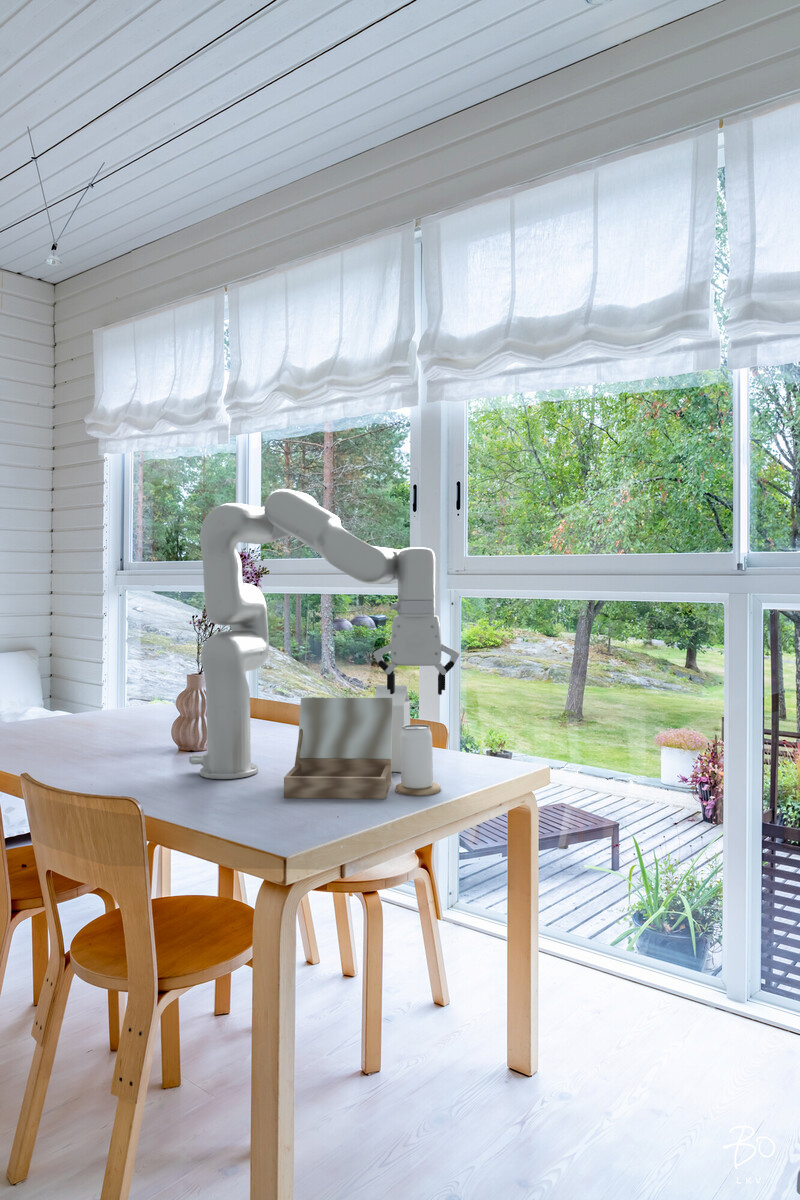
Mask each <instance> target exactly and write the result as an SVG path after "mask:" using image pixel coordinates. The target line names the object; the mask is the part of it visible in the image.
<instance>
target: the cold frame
mask: <svg viewBox="0 0 800 1200" xmlns="http://www.w3.org/2000/svg"><path fill="white" fill-rule="evenodd" d="M392 706H393V698H374V697H300V707H299V723H298V738H297V739H298V740H297V744H296V745H297V747H296V755H295V762H294V766H293V767H292V768H291V769H290V770H289V771H288V772H287V773H286V775H284V776H283V798H286V799H289V798H291V799H293V798H294V799H299V798H300V799H359V800H360V799H363V800H364V799H369V800H373V799H376V800H377V799H379V800H384V799H385V800H386V798H387V796H388V793H389V790H390V787H391V785H392V772H391V752H392Z"/></svg>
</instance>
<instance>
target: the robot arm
mask: <svg viewBox="0 0 800 1200" xmlns="http://www.w3.org/2000/svg"><path fill="white" fill-rule="evenodd" d="M341 522H342V521H341V519H340V517H338V515H336V514H334V513H332V512H330V511H329V510H327V509H325V508H323V507H322V506H320V505H319V503H318V502H317V500H316V499H315V498H314V497H313V496H311V495H309V494H307V493H305V492H302V491H296V490H292V489H288V488H281V489H276V490H275V491H272V492H271V493H270V494H269V495H268V496H267V497H266V499H265V502H264V505H263V506H256V505H250V504H245V503H238V502H228V503H224V504H223V503H222V504H219V505H218V506H216V507H214V508H213V509H212V510H211V511H210V512H208V514H207V515H206V516H205V518H204V520H203V522H202V524H201V527H200V532H199V533H200V534H199V543H200V549H201V550H200V552H201V557H202V558H201V559H202V567H203V568H202V569H203V571H202V572H203V591H204V607H205V608H204V609H205V614H206V616H207V618H208V620H209V621H210V622H211V623H213V624H215V625H218V626H231V630H230V631H229V630H228V631H221V632H217V633H215V634H213V635H211V636H210V637H208V638H207V639H206V640H205V642H204V644H203V645H202V647H201V653H200V654H201V655H200V660H201V665H202V670H203V676H204V683H205V703H206V706H205V707H206V753H203V754H190V755H189V758H188V761H189V764H191V765H192V766H193V765H195V766H196V765H201V766H202V767H201V768H200V770H199V774H200V776H201V777H203V778H205V779H212V780H233V779H235V780H236V779H240V778H247V777H250V776H253V775H255V774H257V773H258V771H259V770H258V769H259V767H258V765H257V764H254V763H253V762H252V761H251V760H252V759H251V757H252V756H251V755H252V754H251V753H252V752H251V748H252V746H251V698H250V695H251V692H250V687H249V683H248V679H247V676H246V674H245V672H249V671H254V670H256V669H259V668H260V667H262V666H263V665H264V663H266V661H267V658H268V656H269V649H270V640H269V639H270V637H269V622H268V609H267V608H268V607H267V606H268V605H267V601H266V599H265V596H264V594H263V592H262V591H261V590H260V589H259V588H258V587H257V586H256V585H255V584H251V583H248V582H244V577H243V564H242V559H241V556H240V553H239V551H238V550H237V544H238V543H244V544H254V545H263V544H268V543H272V542H275V541H278V540H282V539H286V538H289V537H293V538H295V539H296V540H298V541H300V542H301V543H303V544H304V545H306V546H307V547H309V548H311V549H313V550H315V551H316V552H317V554H319V556H321V557H322V558H323V559H324V560H325V561H326V562H327V563H329V564H330V565H331V566H333V567H334V568H336V569H338V570H339V571H341V572H343V573H345V574H346V575H347V576H349V577H352V578H353V579H354V580H357V581H359V582H361V583H364V584H367V585H370V584H371V585H374V584H375V585H391V584H397V601H396V602H394V603H393V602H392V603H390V610H391V611H396V612H397V615H394V616H393V619H392V625H391V633H390V635H391V636H390V643H389V644H387V645H385V646H384V647H381V648H379V649H377V650H375V651H374V652H373V656H374V659H375V661H376V662H377V664H378V667H380V669H382V671H384V672H385V674H386V685H387V690H390V694H394V693H395V685H396V673H394V672H395V669H396V667H398V666H403V667H404V666H405V667H406V666H407V667H410V666H411V667H415V666H416V667H433V666H434V667H435V668H436V669H437V671H438V674H437V695H438V696H442V695H443V691H446V675H447V673H448V672H449V671H450V670H451V669H453V668H454V666H455V664H456V662H457V660H458V658H459V657H460V653H459V652H458V651H457V650H455V649H453V648H451V647H449V646H447V645H445V644H444V643H442V633H441V623H440V619H439V615H436V614H435V613H436V599H435V598H436V555H435V551H433V550H432V549H431V548H430V547H429V548H427V547H404V548H402V549H396V548H391V547H390V548H389V547H381V546H375V545H371V544H369V542H368V543H367V542H366V541H364V540H362V539H360V538H359V537H357V536H355V535H353V534H352V533H350V532H349V531H347V530H346V528H344V527H343V526H342V523H341ZM389 652H390V661H391V663H390V664H388V663H387V662H386V661H385V660H384V658H383V655H385V654H386V653H389ZM442 652H443V653H445V654H447V655H449V656H450V659H449V661H448V662H447V663H446V664H443V663H442V662H441V661H442Z"/></svg>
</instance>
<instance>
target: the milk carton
mask: <svg viewBox="0 0 800 1200" xmlns="http://www.w3.org/2000/svg"><path fill="white" fill-rule="evenodd" d="M373 698H393V706H392V752H391V773H393V772H395V773H401V751H400V734H401V732H402V729H403V728H402V727H403V726H406V725H411V700H410V696H409V692H408V685H406V684H405V685H403V684H401V685H400V684H398V685H397V684H395V693H394V694H390V690H387V684H376V686H375V693H374V697H373Z"/></svg>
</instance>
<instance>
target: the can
mask: <svg viewBox="0 0 800 1200" xmlns="http://www.w3.org/2000/svg"><path fill="white" fill-rule="evenodd" d="M402 728H403V729H402V732H401V734H400V751H401V772H400V775H401V776H400V779H401V781H400V783H401V784H402V786H403V787H404V788H407V789H426V788H429V787H431V786H432V785H433V782H434V764H433V763H434V761H433V760H434V759H433V758H434V755H433V752H434V751H433V734H432V731H431V730H430V725H427V724H417V723H416V724H410V725H406V726H403V727H402Z"/></svg>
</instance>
